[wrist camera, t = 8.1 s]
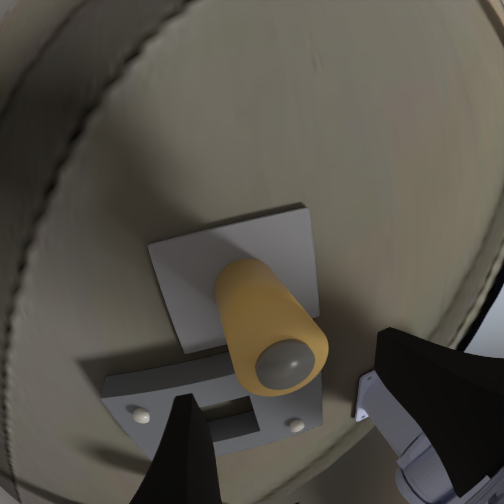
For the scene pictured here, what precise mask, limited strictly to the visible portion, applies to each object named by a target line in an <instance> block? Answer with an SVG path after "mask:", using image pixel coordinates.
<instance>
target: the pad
mask: <svg viewBox="0 0 504 504" xmlns="http://www.w3.org/2000/svg"><path fill="white" fill-rule="evenodd" d="M148 250H149V253H150V257H151V260H152V263H153V266H154V270H155V273H156V276H157V279H158V282H159V285H160V288H161V291H162V294H163V297H164V300H165V303H166V305H167V308H168V311H169V314H170V317H171V319H172V322H173V325H174V327H175V330H176V333H177V335H178V338H179V340H180V343H181V345H182V348H183V350H184V353H185V354H188V353H193V352H197V351H201V350H205V349H209V348H214V347H217V346H221V345H225V344H227V341H226V338H225V334H224V330H223V326H222V322H221V318H220V314H219V310H218V306H217V302H216V298H215V294H214V286H215V282H216V279H217V277H218V275H219V273H220V272H221V271H222V270H223V269H224V268H225V267H226V266H227V265H229V264H230V263H232V262H234V261H237V260H240V259H256V260H259V261H261V262H263V263H265V264H266V265H267V266H268V267H269V268H270V269H271V270H272V271H273V272H274V274H275V275H276V276H277V277H278V278H279V280H280V281H281V282H282V283H283V284H284V286H285V287H286V288H287V289H288V290H289V292H290V293H291V294H292V295H293V296H294V298H295V299H296V300H297V301H298V302H299V304H300V305H301V306H302V307H303V309H304V310H305V311H306V312H307V313H308V315H309V316H310V317H311V318H312V319H313V318H316V317H319V316H320V311H319V298H318V286H317V275H316V265H315V255H314V246H313V237H312V228H311V220H310V212H309V208H308V207H303V208H298V209H293V210H289V211H284V212H280V213H275V214H271V215H266V216H262V217H257V218H253V219H248V220H244V221H240V222H236V223H231V224H227V225H223V226H219V227H214V228H210V229H206V230H202V231H198V232H194V233H190V234H186V235H182V236H178V237H174V238H170V239H166V240H162V241H159V242H155V243H151V244H148Z"/></svg>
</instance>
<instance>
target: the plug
mask: <svg viewBox="0 0 504 504" xmlns="http://www.w3.org/2000/svg"><path fill="white" fill-rule="evenodd" d="M214 294H215V298H216V302H217V306H218V310H219V314H220V318H221V322H222V326H223V330H224V334H225V338H226V341H227V345H228V349H229V352H230V356H231V360H232V363H233V367H234V370H235V374H236V377H237V380H238V382H239V383H240V384H241V386H242V387H243V388H244V389H246V390H247V391H249V392H251V393H253V394H256V395H260V396H280V395H285V394H288V393H291V392H293V391H296V390H298V389H300V388H302V387H303V386H305V385H306V384H308V383H309V382H310V381H311V380H312V379H314V378H315V377H316V375H317V374H318V373H319V372H320V371H321V369H322V368H323V366H324V364H325V362H326V359H327V356H328V350H329V349H328V341H327V338H326V336H325V334H324V333H323V332H322V330H321V329H320V328H319V327H318V325H317V324H316V323H315V322H314V321H313V319H312V318H311V317H310V316H309V315H308V313H307V312H306V311H305V310H304V309H303V307H302V306H301V305H300V304H299V302H298V301H297V300H296V299H295V298H294V296H293V295H292V294H291V293H290V292H289V290H288V289H287V288H286V287H285V286H284V284H283V283H282V282H281V281H280V280H279V278H278V277H277V276H276V275H275V274H274V272H273V271H272V270H271V269H270V268H269V267H268V266H267V265H266V264H265V263H263V262H261V261H259V260H256V259H240V260H237V261H234V262H232V263H230V264H229V265H227V266H226V267H225V268H224V269H223V270H222V271H221V272H220V273H219V275H218V277H217V279H216V282H215V286H214Z"/></svg>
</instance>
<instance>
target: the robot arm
mask: <svg viewBox="0 0 504 504" xmlns="http://www.w3.org/2000/svg"><path fill="white" fill-rule="evenodd" d="M368 416H369V417H370V418H371V420H372V421H373V422H374V424H375V425H376V426H377V428H378V429H379V430H380V432H381V433H382V434H383V436H384V437H385V438H386V440H387V441H388V442H389V444H390V445H391V446H392V448H393V449H394V450H395V452H396V453H397V454H398V456H399V457H400V459H398V460H397V463H398V464H399V466H400V468H398V469H397V471H396V484H397V486H398V488H399V490H400V492H401V493H402V495H403V496H404V497H405V499H406V500H407V501H408V502H409V503H410V504H504V358H492V357H484V356H478V355H473V354H469V353H464V352H460V351H457V350H453V349H450V348H447V347H444V346H441V345H438V344H435V343H432V342H429V341H426V340H424V339H421V338H418V337H416V336H413V335H411V334H408V333H405V332H403V331H400V330H397V329H394V328H391V327H389V328H386V329H384V330H382V331H380V332H378V335H377V346H376V355H375V364H374V370H373V371H371V372H369V373H367V374H365V375H363V376H362V377H361V378H360V380H359V388H358V396H357V404H356V412H355V421H360V420H362V419H364V418H366V417H368ZM129 504H222V501H221V496H220V489H219V482H218V474H217V467H216V459H215V451H214V445H213V441H212V437H211V433H210V429H209V425H208V423H207V421H206V419H205V417H204V415H203V413H202V411H201V410H200V408H199V406H198V404H197V402H196V400H195V398H194V395H193V393H189V394H184V395H179V396H176V397H175V398H174V400H173V404H172V408H171V411H170V414H169V418H168V421H167V424H166V427H165V430H164V433H163V435H162V438H161V441H160V444H159V446H158V449H157V451H156V454H155V456H154V458H153V461H152V463H151V465H150V467H149V470H148V472H147V474H146V476H145V478H144V480H143V481H142V483H141V485H140V487H139V489H138V490H137V492H136V494H135V495H134V497H133V498H132V500H131V502H130V503H129Z"/></svg>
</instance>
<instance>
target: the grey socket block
mask: <svg viewBox="0 0 504 504" xmlns="http://www.w3.org/2000/svg"><path fill="white" fill-rule="evenodd" d="M189 393H193V395H194V398H195V400H196V402H197V404H198V406H199V407H204V406H208V405H213V404H217V403H221V402H226V401H230V400H234V399H237V398H241V397H245V396H249V397H250V401H251V404H252V407H253V411H250V412H246V413H242V414H238V415H234V416H230V417H226V418H222V419H218V420H213V421H208V422H207V423H208V425H209V429H210V433H211V437H212V441H213V445H214V451H215V456H219V455H224V454H229V453H233V452H238V451H242V450H246V449H250V448H253V447H257V446H261V445H264V444H268V443H271V442H275V441H278V440H281V439H284V438H287V437H290V436H293V435H296V434H299V433H302V432H305V431H307V430H310V429H313V428H315V427H318V426H320V425H322V374H321V371H320V372H319V373H318V374H317V375H316V377H315V378H314V379H312V380H311V381H310V382H309V383H308V384H306V385H305V386H303V387H302V388H300V389H298V390H296V391H293V392H291V393H288V394H285V395H280V396H260V395H256V394H253V393H251V392H249V391H247V390H246V389H244V388H243V387H242V386H241V384H240V383H239V382H238V380H237V377H236V374H235V370H234V367H233V363H232V360H231V356H230V352H225V353H221V354H217V355H213V356H209V357H205V358H201V359H196V360H192V361H188V362H183V363H178V364H174V365H169V366H164V367H159V368H154V369H148V370H143V371H137V372H131V373H125V374H119V375H112V376H106V377H105V381H104V385H103V388H102V392H101V396H100V399H101V401H102V402H103V403H104V405H105V406H106V407H107V409H108V410H109V412H110V413H111V414H112V415H113V417H114V418H115V419H116V421H117V422H118V423H119V424H120V426H121V427H122V428H123V429H124V431H125V432H126V433H127V434H128V435H129V437H130V438H131V439H132V440H133V441H134V442H135V444H136V445H137V446H138V447H139V448H140V449H141V450H142V451H143V452H144V454H145V455H146V456H147V457H148V458H149V459H150V460H151V461H153V458H154V456H155V454H156V451H157V449H158V446H159V444H160V441H161V438H162V435H163V433H164V430H165V427H166V424H167V421H168V418H169V414H170V411H171V408H172V404H173V400H174V398H175V397H176V396H179V395H184V394H189Z"/></svg>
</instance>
